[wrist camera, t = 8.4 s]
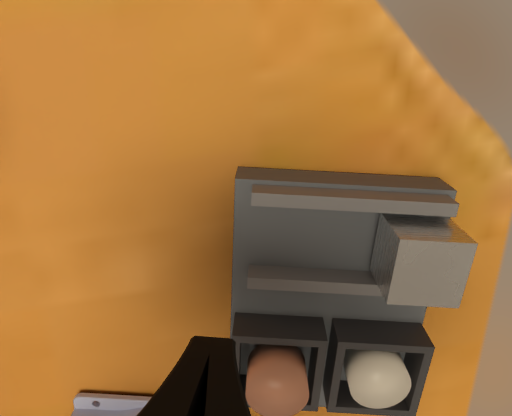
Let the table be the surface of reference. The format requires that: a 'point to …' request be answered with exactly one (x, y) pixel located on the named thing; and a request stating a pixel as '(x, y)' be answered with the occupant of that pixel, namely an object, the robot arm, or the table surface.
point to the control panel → (326, 275)
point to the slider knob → (421, 260)
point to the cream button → (376, 377)
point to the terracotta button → (276, 380)
